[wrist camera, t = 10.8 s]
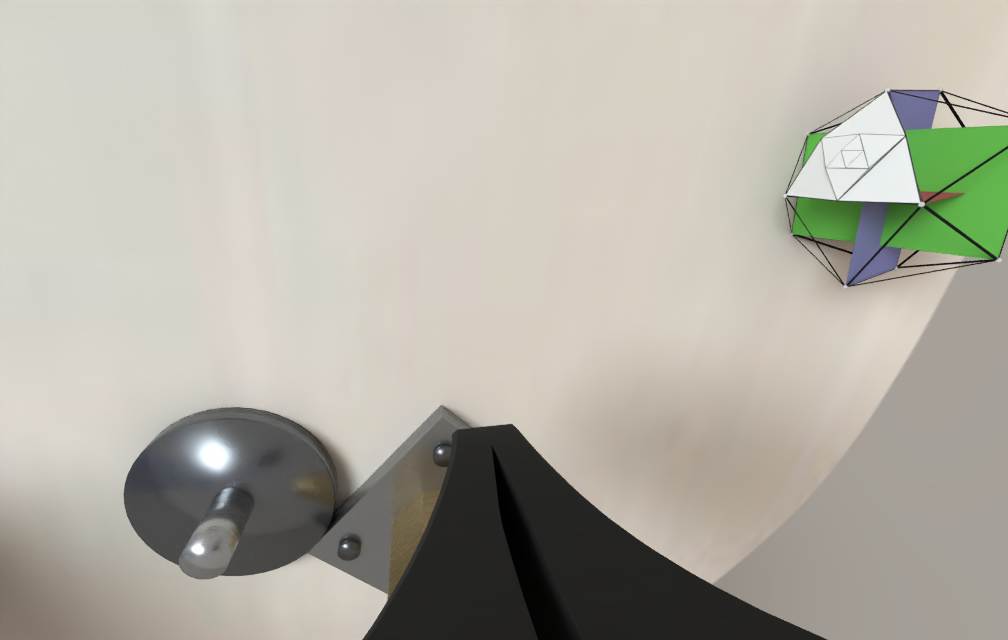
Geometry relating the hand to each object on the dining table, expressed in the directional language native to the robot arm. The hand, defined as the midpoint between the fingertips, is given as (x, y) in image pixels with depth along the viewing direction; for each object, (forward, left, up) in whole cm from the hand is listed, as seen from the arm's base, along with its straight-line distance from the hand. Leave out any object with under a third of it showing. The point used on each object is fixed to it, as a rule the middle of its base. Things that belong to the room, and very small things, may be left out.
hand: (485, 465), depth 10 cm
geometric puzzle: (+15, -8, -10) cm, 20 cm away
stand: (-12, +1, -10) cm, 16 cm away
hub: (-8, -7, -10) cm, 15 cm away
